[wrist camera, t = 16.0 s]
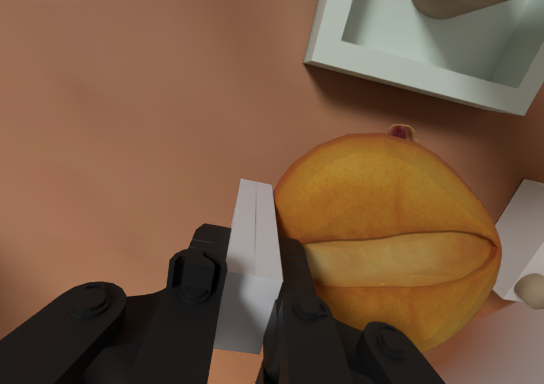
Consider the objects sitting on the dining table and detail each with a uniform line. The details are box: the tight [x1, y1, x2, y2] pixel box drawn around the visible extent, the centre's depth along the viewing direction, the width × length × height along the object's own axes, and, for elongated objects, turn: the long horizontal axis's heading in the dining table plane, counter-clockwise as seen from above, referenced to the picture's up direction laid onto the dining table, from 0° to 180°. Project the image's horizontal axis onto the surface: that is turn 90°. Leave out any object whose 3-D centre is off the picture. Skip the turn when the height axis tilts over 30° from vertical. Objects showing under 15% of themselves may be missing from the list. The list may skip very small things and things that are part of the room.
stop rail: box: [492, 179, 544, 309], centre depth 17 cm, size 7×2×4 cm, turn 167°
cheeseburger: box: [273, 124, 502, 354], centre depth 14 cm, size 10×11×10 cm
